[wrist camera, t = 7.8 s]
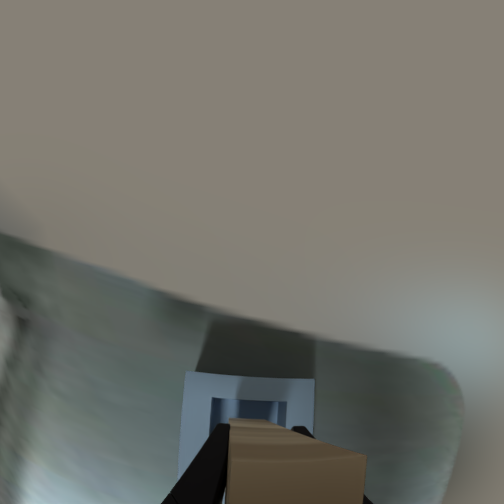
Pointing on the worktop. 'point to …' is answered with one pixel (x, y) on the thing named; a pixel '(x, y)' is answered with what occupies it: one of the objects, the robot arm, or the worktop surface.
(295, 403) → the blue-grey socket block
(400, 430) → the worktop surface
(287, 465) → the slat
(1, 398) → the worktop surface
